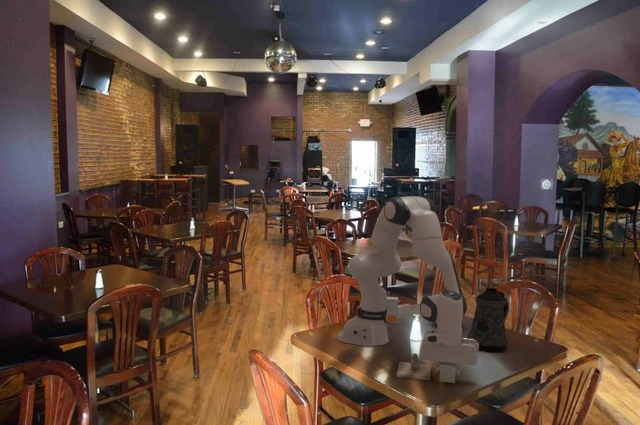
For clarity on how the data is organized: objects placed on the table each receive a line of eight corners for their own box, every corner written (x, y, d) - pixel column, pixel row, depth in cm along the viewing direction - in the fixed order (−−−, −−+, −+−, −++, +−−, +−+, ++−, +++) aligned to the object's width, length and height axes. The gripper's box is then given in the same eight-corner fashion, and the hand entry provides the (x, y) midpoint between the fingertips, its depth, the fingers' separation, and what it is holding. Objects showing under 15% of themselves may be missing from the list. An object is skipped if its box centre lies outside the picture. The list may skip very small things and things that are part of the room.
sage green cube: (439, 381, 189) (440, 365, 189) (439, 375, 195) (440, 359, 194) (454, 383, 188) (455, 366, 187) (454, 377, 193) (455, 361, 193)
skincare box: (384, 322, 258) (385, 298, 257) (385, 320, 262) (385, 296, 261) (397, 323, 257) (398, 299, 256) (397, 320, 261) (398, 297, 260)
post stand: (396, 376, 193) (397, 357, 192) (399, 364, 204) (400, 346, 204) (429, 380, 190) (430, 361, 189) (431, 368, 201) (431, 349, 201)
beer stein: (463, 348, 224) (466, 290, 222) (472, 335, 241) (475, 282, 239) (503, 355, 217) (507, 296, 214) (510, 342, 234) (514, 286, 231)
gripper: (478, 336, 190) (476, 373, 192) (421, 331, 195) (419, 367, 197) (479, 342, 184) (477, 380, 186) (420, 336, 189) (418, 373, 190)
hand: (447, 373), depth 191 cm, fingers closed on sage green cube, 5 cm apart
